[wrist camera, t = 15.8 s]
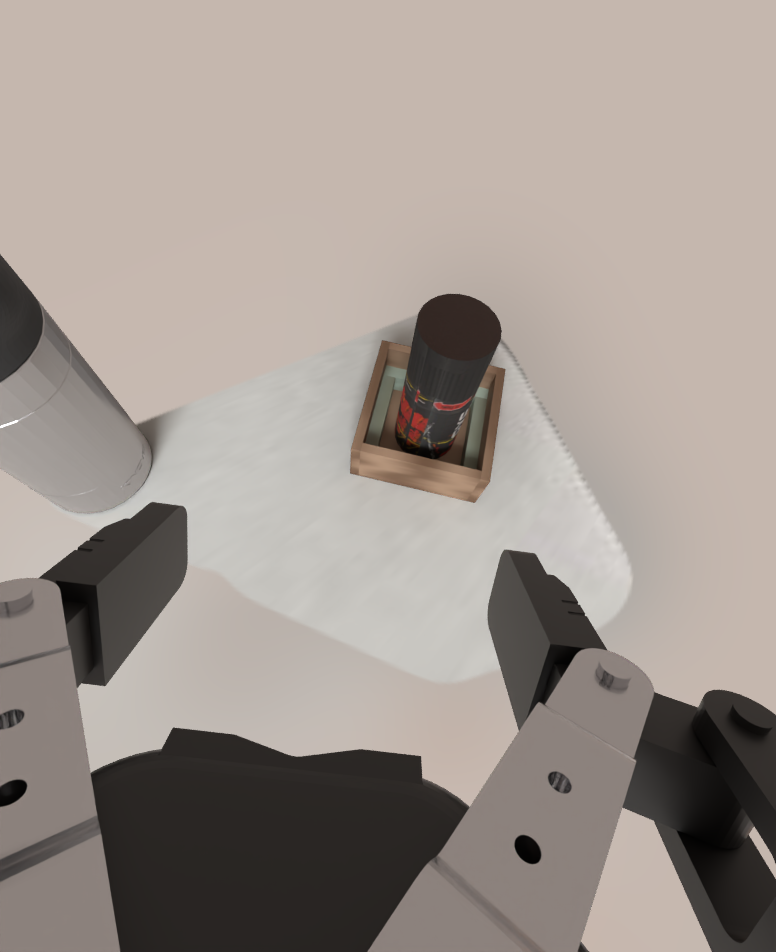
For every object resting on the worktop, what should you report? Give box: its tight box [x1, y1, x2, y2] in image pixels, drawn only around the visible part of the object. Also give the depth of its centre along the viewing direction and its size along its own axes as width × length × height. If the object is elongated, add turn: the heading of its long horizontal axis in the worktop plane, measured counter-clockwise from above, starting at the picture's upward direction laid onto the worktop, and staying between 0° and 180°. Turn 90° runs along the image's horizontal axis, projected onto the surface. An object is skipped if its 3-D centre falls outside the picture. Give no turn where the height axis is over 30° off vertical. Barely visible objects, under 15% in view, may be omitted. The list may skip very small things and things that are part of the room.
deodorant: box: [394, 294, 501, 459], centre depth 39 cm, size 6×6×15 cm
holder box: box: [350, 340, 505, 503], centre depth 44 cm, size 12×12×5 cm
